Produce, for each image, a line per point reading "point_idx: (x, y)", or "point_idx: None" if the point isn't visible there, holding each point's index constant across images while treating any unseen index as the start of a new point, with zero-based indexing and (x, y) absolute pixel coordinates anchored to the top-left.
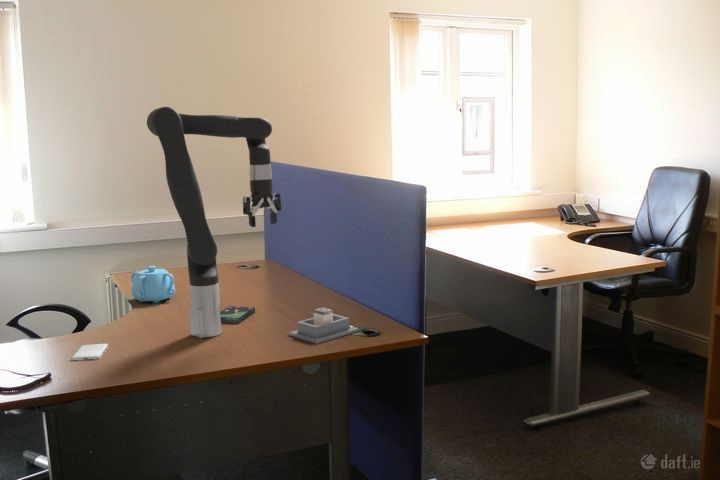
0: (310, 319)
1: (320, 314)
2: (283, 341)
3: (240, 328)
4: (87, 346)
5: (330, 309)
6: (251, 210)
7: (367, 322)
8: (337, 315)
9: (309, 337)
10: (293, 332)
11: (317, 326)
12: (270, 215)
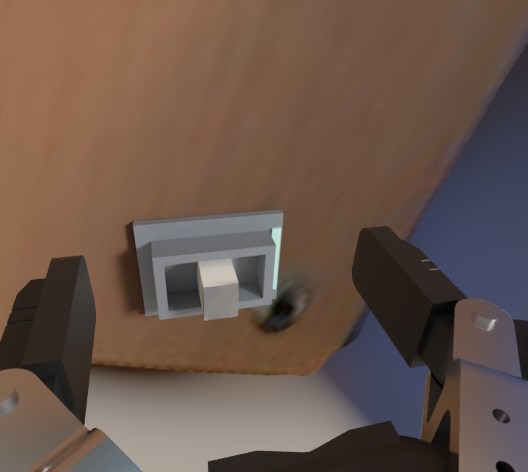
0: (195, 260)
1: (202, 305)
2: (89, 253)
3: (37, 40)
4: None
5: (236, 311)
6: (43, 465)
7: (340, 255)
8: (270, 272)
9: (148, 289)
10: (142, 234)
11: (166, 316)
12: (410, 286)
